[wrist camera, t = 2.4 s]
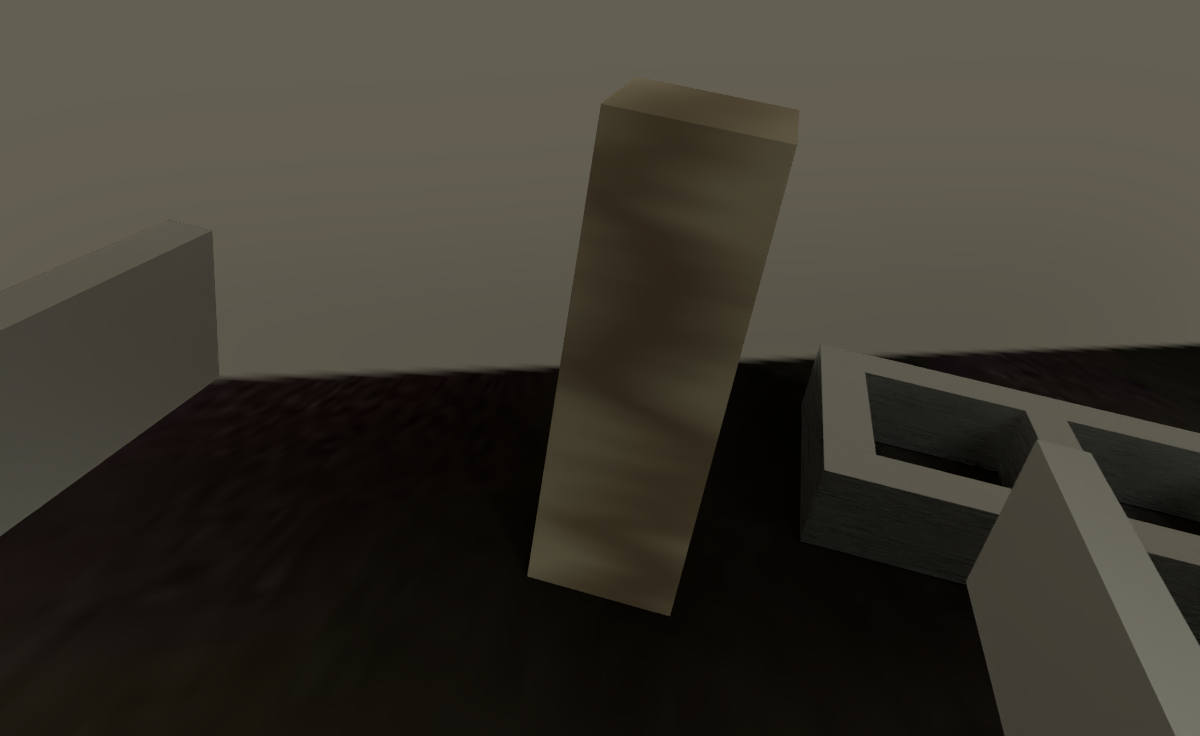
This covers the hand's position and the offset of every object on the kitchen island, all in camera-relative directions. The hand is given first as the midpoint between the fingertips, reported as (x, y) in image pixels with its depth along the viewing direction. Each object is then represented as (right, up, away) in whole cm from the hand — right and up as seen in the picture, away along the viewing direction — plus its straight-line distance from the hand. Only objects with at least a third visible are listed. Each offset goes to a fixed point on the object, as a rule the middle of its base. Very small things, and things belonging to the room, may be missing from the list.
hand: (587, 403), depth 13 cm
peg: (+1, -5, +14) cm, 15 cm away
